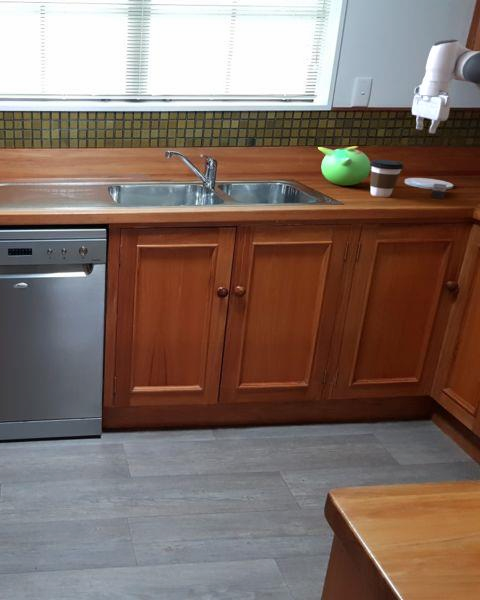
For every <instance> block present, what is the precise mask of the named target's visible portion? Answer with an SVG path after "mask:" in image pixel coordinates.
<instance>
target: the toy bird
mask: <svg viewBox="0 0 480 600" xmlns="http://www.w3.org/2000/svg"><path fill="white" fill-rule="evenodd" d="M358 147H359V146H358V145H354V146H348V147H340V148H337V149H331V148H327V147H322V146H319V147H317V149H318V150H319V151H320V152H321V153H322V154H324V155H325V156H324V158H323V159H322V161H321V166H320V168H321V173H322V176H323V177H324V178H325V179H326V180H327V181H328V182H330V183H332V184H335V185H337V186H343V187H347V186H348V187H349V186H354V185H357V184H360V183H362V182H364V181H365V180H366V179H367V177H369V175H370V174H371V170H372V166H371V165H370V163H371V161H370V159H369V157H368V156H367V155H366V154H365V153H364V152H362V151H361V150H359V149H357V148H358Z"/></svg>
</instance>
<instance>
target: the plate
mask: <svg viewBox="0 0 480 600" xmlns="http://www.w3.org/2000/svg"><path fill="white" fill-rule="evenodd" d="M434 183H435V184H444V185H446V190H445V191H448V190H452V189H453V188H454V184H453V183H451V182H448V181H446V180H440V179H434V178H427V177H426V178H424V177H408V178H405V179H404V184H406V185H408V186H410V187H415V188H420V189H425V190H426V189H427V190H433V187H434Z"/></svg>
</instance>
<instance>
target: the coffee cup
mask: <svg viewBox="0 0 480 600" xmlns="http://www.w3.org/2000/svg"><path fill="white" fill-rule="evenodd" d="M370 165H371V169H370V181H369V182H370V184H369V185H370V195H371V196H374V197H378V198H389V197H390V196H391V195H392V193H393V190H394V189H395V187H396V184H397V181H398V179H399V177H400V174H401V171H402V170H403V169H405V168H404V167H405V166H404V163H403V162H402V161H398V160H392V159H381V158H379V159H373V160H371V162H370Z"/></svg>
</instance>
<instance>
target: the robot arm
mask: <svg viewBox="0 0 480 600" xmlns="http://www.w3.org/2000/svg"><path fill="white" fill-rule="evenodd" d="M453 80H456V81H459V82H466V83H467V82H469V83H473V84H477V85H480V50H477V51H476V50H472V49H469V48H467V47H465V46H464V45H462V44H461V43H460V41H459V40H458V39H446V40H440V41H437V42H435V43H434V44H433V45H432V47H431V48H430V50H429V54H428V57H427V59H426V64H425V74H424V77H423V78H422V82H421V84H419V85H418V86H416V87H414V91H413V94H414V96H413V100H412V106H411V115H412V116H416V119H415V120H416V127H415V129H416V130H419V131H420V130H421V131H422V130H423V129H424V120H425V119H428V120H431V125H430V127H428V130H427V132H428V133H429V134H436V131H437V129H438V126H439V125H440V123H441V122H444V121H445V122H446V121H447V120H448V118H449V115H450V109H451V102H452V100H451V98H450V96H449V94H450V90H451V85H452V81H453Z"/></svg>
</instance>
